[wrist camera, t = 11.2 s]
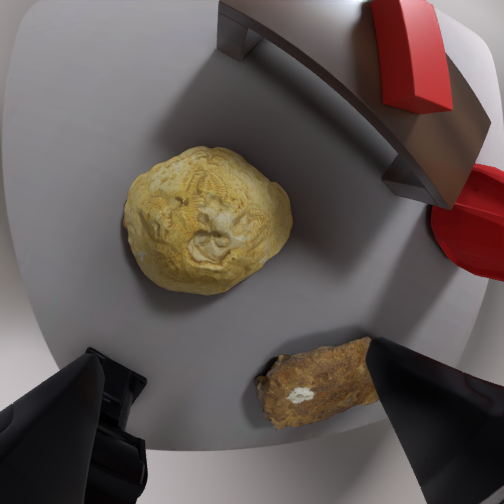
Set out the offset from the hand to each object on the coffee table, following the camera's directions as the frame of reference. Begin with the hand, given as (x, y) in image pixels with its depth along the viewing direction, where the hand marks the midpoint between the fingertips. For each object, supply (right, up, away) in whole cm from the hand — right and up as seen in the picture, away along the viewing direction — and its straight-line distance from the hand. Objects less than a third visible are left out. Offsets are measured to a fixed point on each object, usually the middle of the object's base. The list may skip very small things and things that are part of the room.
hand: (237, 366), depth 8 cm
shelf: (+8, +16, +9) cm, 20 cm away
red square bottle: (+9, +14, +3) cm, 17 cm away
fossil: (-3, +6, +11) cm, 13 cm away
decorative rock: (+8, -9, +17) cm, 21 cm away
